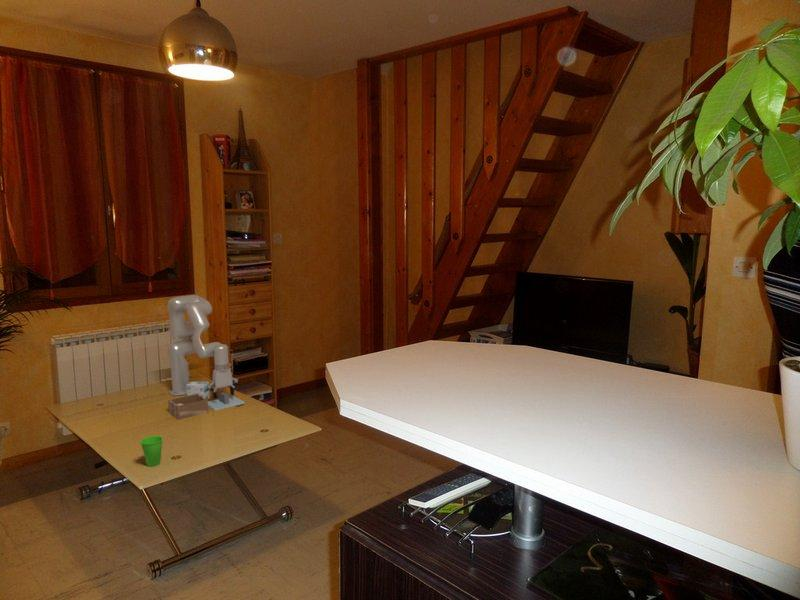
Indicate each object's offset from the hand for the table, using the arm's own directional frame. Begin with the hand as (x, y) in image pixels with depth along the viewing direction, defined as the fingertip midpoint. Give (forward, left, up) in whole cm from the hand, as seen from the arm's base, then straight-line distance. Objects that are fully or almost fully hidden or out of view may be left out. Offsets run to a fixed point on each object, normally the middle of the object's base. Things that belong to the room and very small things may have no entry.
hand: (223, 396), depth 307 cm
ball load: (-2, -23, -4) cm, 24 cm away
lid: (0, 0, -5) cm, 5 cm away
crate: (+1, -20, -5) cm, 21 cm away
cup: (+52, -53, -5) cm, 74 cm away
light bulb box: (-17, -8, -5) cm, 20 cm away
